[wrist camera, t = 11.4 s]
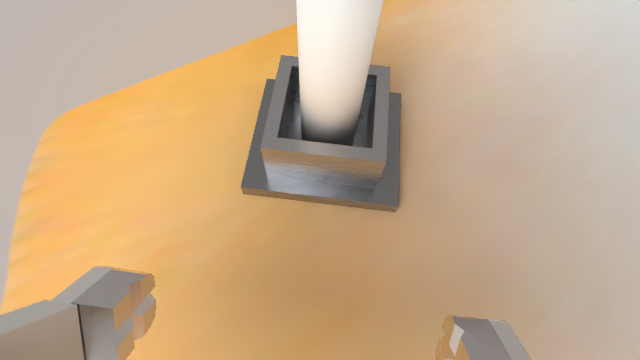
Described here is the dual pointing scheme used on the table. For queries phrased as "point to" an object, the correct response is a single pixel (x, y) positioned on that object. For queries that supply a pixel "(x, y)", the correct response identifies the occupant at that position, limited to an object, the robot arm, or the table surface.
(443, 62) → the table surface
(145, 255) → the table surface
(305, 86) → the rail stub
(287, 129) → the cup bracket
